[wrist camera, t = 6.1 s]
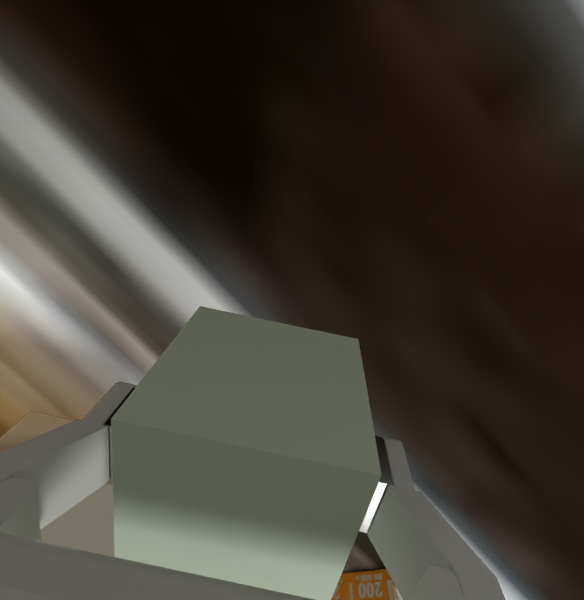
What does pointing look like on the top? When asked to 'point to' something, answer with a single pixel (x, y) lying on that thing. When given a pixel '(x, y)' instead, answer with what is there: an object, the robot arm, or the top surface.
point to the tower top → (86, 524)
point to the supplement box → (365, 586)
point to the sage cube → (246, 455)
